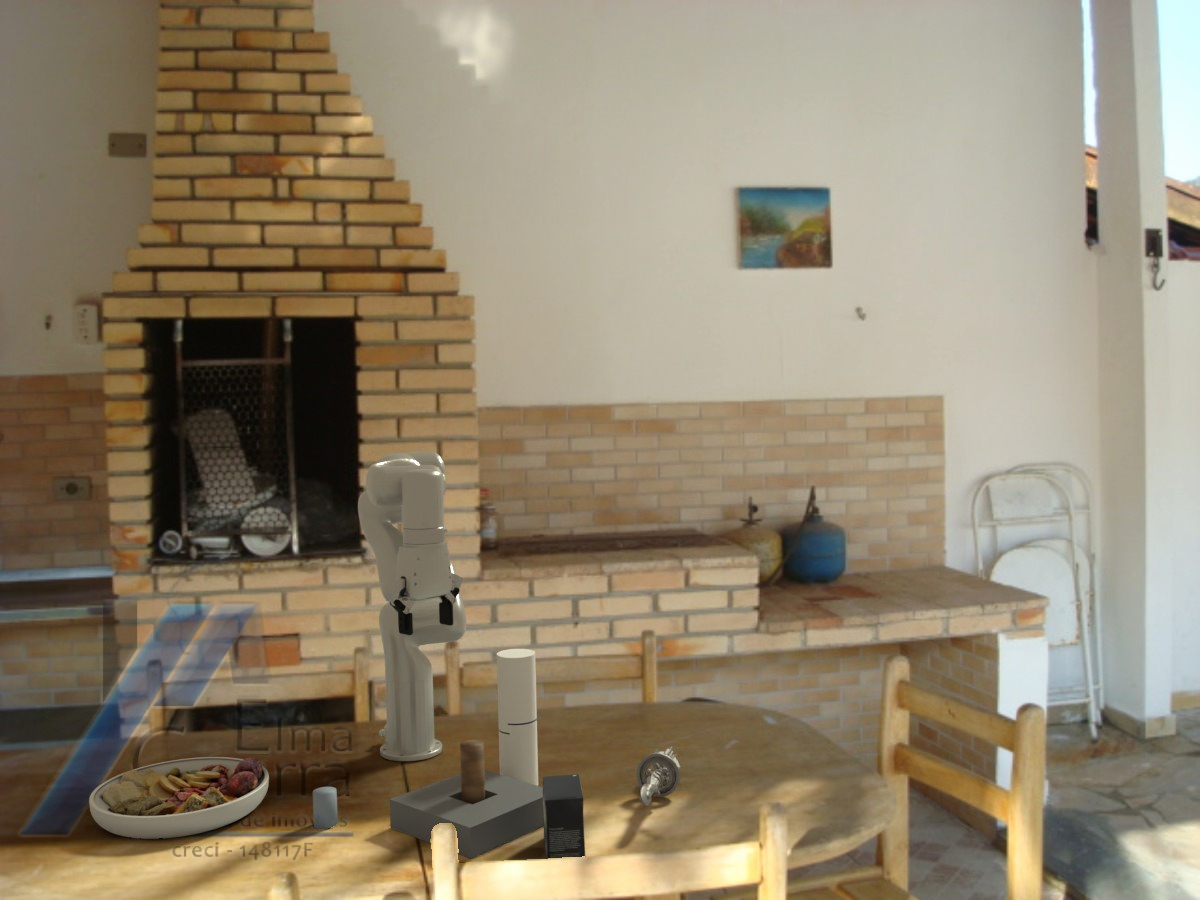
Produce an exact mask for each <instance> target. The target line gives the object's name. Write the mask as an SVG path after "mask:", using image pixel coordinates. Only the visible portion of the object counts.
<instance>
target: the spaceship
mask: <svg viewBox="0 0 1200 900" xmlns="http://www.w3.org/2000/svg"><path fill="white" fill-rule="evenodd" d="M677 757H678V753H675V754H674V751H673V746H671V747H670V748H666V749H664V751H663V750H662V751H659V749H658V748H655V749H654V752H653V753H650V754H647V755H646V756H644V757H643V758H642V759H641V760H640V761H639V763H638V765H637V767H636V770H635V771H636V772H635V773H636V780H637V783H638V786H639V787H640V790H639V799H640V802H641V804H642V805H643V806H644V807H647V806H649V805H650V803H651V802H652V797H653V796H656V797H655V798H665V797H667V796H669V795H671V794H673V793H674V792H675V790H676V789H677V788H678V786H679V783H680V778H681V773H680V770H681V768H682V766H683V765H680V763H679V761H678V759H677ZM651 766H652V767H653V769H654V770H652V769H651V768H650V767H651ZM664 782H665V783H666V784H665V785H663V783H664Z"/></svg>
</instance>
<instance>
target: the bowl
mask: <svg viewBox="0 0 1200 900" xmlns="http://www.w3.org/2000/svg"><path fill="white" fill-rule="evenodd" d="M269 780H270V777H269V772H268V770H267V769H266V768H265V767H264V766H263V762H262V761H261V760H260V759H258V758H257V757H252V756H250V757H247V758H238V757H227V756H203V757H202V756H201V757H190V758H189V757H188V758H180V759H179V758H178V759H173V760H167V761H163V762H157V763H152V764H148V765H144V766H141V767H138V768H135V769H130V770H129V771H125V772H122V773H120V774H117V775H116V776H114V777H111V778H109V779H108V780H105V781H104V782H103V783H101V784H99V785H98V786H97V787H95V789H93V791H92V792H91V794H90V795H89V800H88V804H89V812H90V815H91V816H92V819H93V820H94V821H95V823H97V825H99V826H100V827H101V828H102V829H104V830H106V831H107V832H109V833H112V834H114V835H117V836H122V837H125V838H130V837H131V839H140V838H141V839H142V840H143V839H144V840H158V839H159V838H163V839H172V838H181V837H187V836H193V835H197V834H202V833H205V832H209V831H214V830H217V829H220V828H222V827H224V826H228V825H229V824H232V823H234V822H236V821H238V820H240V819H242V818H245V816H247V815H249V814H250V813H251V812H253V811H254V810H255V809H256V808H257V807H258V806H260V804H261V803H262V801H263V800H264V798H265V796H266V795H267V792H268V788H269V785H270V784H269V783H270V781H269Z"/></svg>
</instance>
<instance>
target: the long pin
mask: <svg viewBox="0 0 1200 900" xmlns="http://www.w3.org/2000/svg"><path fill="white" fill-rule="evenodd" d="M459 745H460V746H459V749H460V750H459V751H460V752H459V754H460V773H461V791H462V801H463V802H466V803H469V804H472V805H473V804H475V803H478V802H480V801H483V800H485V770H486V769H485V743H484V741H482V740H478V739H468V740H464V741H462V742H460V744H459Z"/></svg>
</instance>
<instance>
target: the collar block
mask: <svg viewBox="0 0 1200 900" xmlns="http://www.w3.org/2000/svg"><path fill="white" fill-rule="evenodd" d="M389 819H390V829H392V830H394V831H397V832H399V833H403V834H406V835H408V836H410V837H414V838H415V839H419V840H421V841H423V842H426V843H428V844H431V843H430V839H431V831H432V829H433V827H434V826H435V825H437V824H439V823H452V824H453V825H454V826H455V828H456V831H457V838H458V849H459V854H458V855H460V856H463V857H466V858H469V859H473V858H475V857H478V856H480V855H483V854H484V853H486V852H489V851H491V850H493V849H496V848H498V847H500V846H502V845H504V844H506V843H509V842H512V841H513V840H515V839H518V838H520V837H522V836H525V835H527V834H528V833H531V832H533V831H536V830H537V829H540V828H542V827H544V824H543V786H539V785H538V786H537V785H533V784H530V783H527V782H523V781H520V780H517V779H513V778H510V777H507V776H503V775H500V773H496V772H495V771H494V772H493V771H491V770H490V771H489V770H486V769H485V800H483V801H480V802H478V803H475V804H473V805H472V804H469V803H466V802H463V801H462V791H461V772H459V773H457V774H455V775H451V776H449V777H446V778H444V779H441V780H438V781H435V782H433V783H429V784H428V785H424V786H422V787H419V788H417V789H414V790H411V791H408V792H405V793H403V794H400V795H398V796H395V797H392V798H390V799H389Z"/></svg>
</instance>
